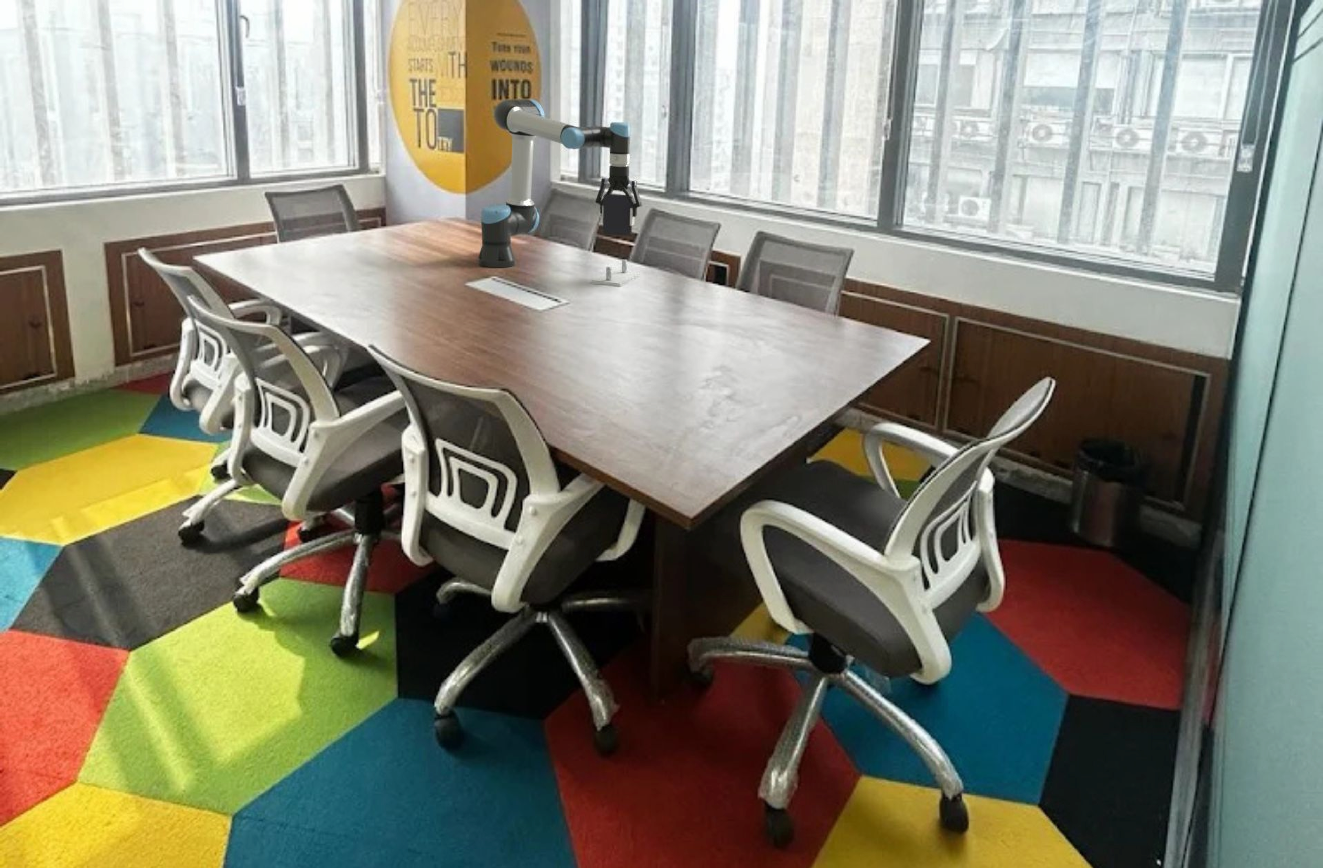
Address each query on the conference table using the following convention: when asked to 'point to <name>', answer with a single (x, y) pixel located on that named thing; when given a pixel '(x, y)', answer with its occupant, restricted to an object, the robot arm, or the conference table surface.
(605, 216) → the calculator
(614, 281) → the white peg stand
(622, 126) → the robot arm
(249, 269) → the conference table surface
